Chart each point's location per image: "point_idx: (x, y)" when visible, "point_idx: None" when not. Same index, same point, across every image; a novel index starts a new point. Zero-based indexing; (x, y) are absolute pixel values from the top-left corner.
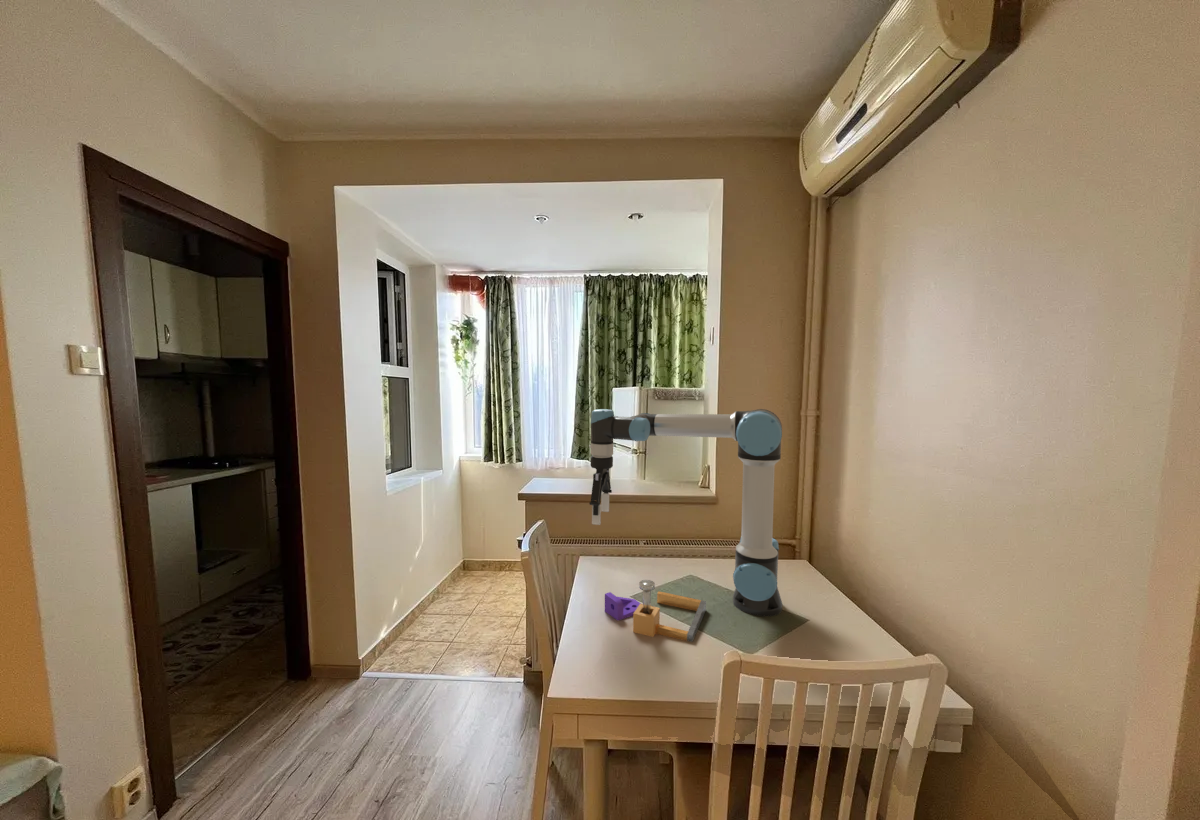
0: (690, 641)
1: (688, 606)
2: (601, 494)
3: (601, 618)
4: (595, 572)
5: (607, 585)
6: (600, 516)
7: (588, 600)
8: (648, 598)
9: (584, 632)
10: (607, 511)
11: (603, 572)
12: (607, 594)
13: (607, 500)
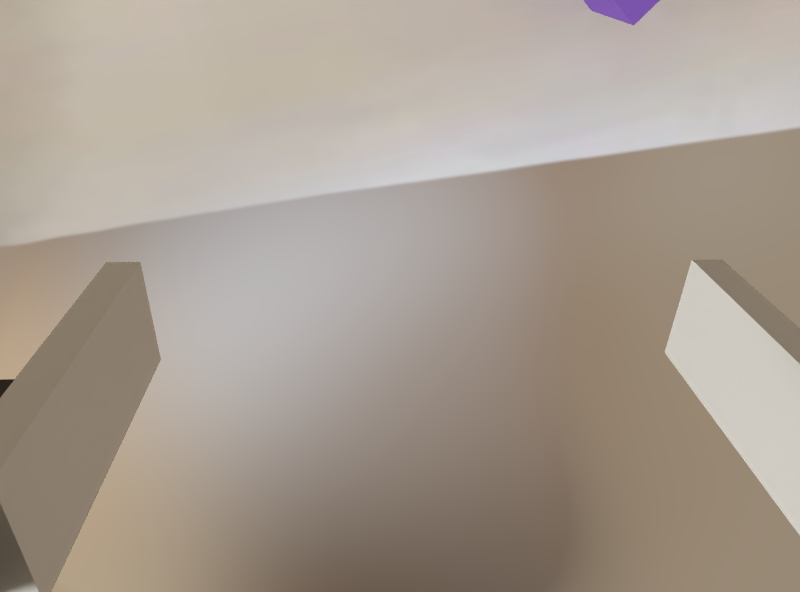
0: None
1: None
2: (56, 580)
3: None
4: (150, 163)
5: (283, 58)
6: (763, 319)
7: (469, 127)
8: None
9: (751, 76)
10: (142, 282)
11: (130, 117)
12: (642, 5)
13: (71, 396)
